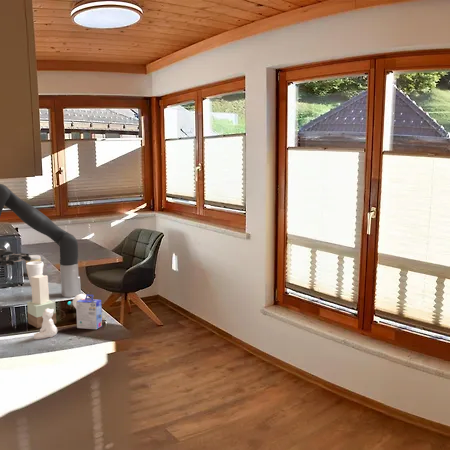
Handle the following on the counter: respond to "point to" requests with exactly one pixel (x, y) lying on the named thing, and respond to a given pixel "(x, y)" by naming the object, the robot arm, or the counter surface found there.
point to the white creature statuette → (47, 325)
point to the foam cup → (34, 269)
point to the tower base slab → (38, 320)
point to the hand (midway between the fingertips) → (22, 260)
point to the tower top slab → (40, 308)
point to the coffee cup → (34, 258)
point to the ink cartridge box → (89, 313)
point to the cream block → (40, 289)
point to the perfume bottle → (76, 299)
